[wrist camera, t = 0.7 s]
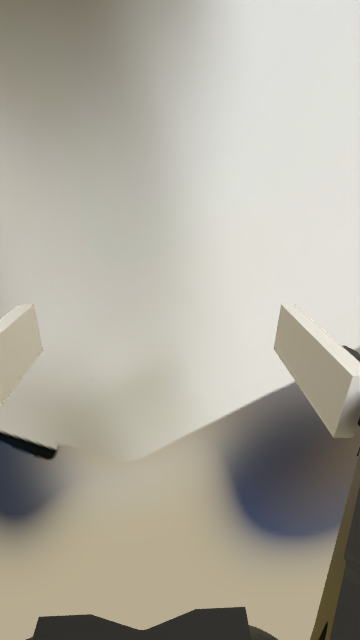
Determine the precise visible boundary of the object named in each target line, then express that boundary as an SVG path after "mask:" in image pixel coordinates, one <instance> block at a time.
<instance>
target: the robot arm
mask: <svg viewBox="0 0 360 640" xmlns="http://www.w3.org/2000/svg"><path fill="white" fill-rule="evenodd" d="M274 350H275V352H276V353H277V354H278V356H279V357H280V359H281V360H282V362H283V363H284V365H285V366H286V368H287V369H288V371H289V372H290V374H291V375H292V377H293V378H294V380H295V381H296V383H297V384H298V386H299V387H300V389H301V390H302V391H303V393H304V394H305V396H306V397H307V399H308V400H309V402H310V403H311V405H312V406H313V408H314V409H315V411H316V412H317V414H318V415H319V417H320V418H321V420H322V421H323V423H324V424H325V425H326V427H327V429H328V430H329V431H330V433H331V435H332V436H333V437H334V438H350V437H354V435H355V432H356V429H357V427H358V425H359V426H360V354H359V353H358V352H356V351H355V350H353V349H351V348H349V347H347V346H341V345H340V344H339V343H338V342H337V341H336V340H334V339H333V338H332V337H331V336H330V335H329V334H328V333H327V332H325V331H324V330H323V329H322V328H321V327H320V326H319V325H318V324H316V323H315V322H314V321H313V320H312V319H311V318H310V317H309V316H307V315H306V314H305V313H304V312H303V311H302V310H301V309H300V308H299V307H297V306H296V305H295V304H281V309H280V315H279V320H278V326H277V332H276V338H275V344H274ZM42 351H43V349H42V344H41V339H40V334H39V329H38V324H37V319H36V314H35V309H34V305H17V306H16V307H15V308H13V309H12V310H11V311H10V312H8V313H7V314H6V315H4V316H3V317H2V318H1V319H0V406H1V405H2V403H3V402H4V401H5V399H6V398H7V397H8V395H9V394H10V393H11V391H12V390H13V389H14V388H15V386H16V385H17V384H18V382H19V381H20V380H21V378H22V377H23V376H24V375H25V373H26V372H27V371H28V369H29V368H30V367H31V365H32V364H33V363H34V361H35V360H36V359H37V358H38V356H39V355H40V354H41V352H42ZM357 456H358V459H357V463H356V467H355V471H354V475H353V479H352V483H351V486H350V490H349V494H348V498H347V502H346V506H345V509H344V513H343V517H342V521H341V525H340V529H339V533H338V537H337V540H336V545H335V548H334V552H333V556H332V560H331V564H330V568H329V571H328V575H327V580H326V583H325V587H324V591H323V595H322V599H321V602H320V606H319V610H318V614H317V618H316V622H315V625H314V629H313V632H312V635H311V638H310V640H360V448H359V451H358V454H357ZM26 640H278V639H277V638H275V637H274V636H272V635H271V634H269V633H267V632H265V631H263V630H261V629H259V628H256V627H253V626H250V625H248V620H247V614H246V609H245V607H234V608H213V609H195V610H193V611H191V612H188V613H186V614H183V615H181V616H178V617H176V618H174V619H171V620H169V621H166V622H164V623H162V624H159V625H157V626H154V627H152V628H150V629H147V630H137V629H134V628H131V627H128V626H125V625H121V624H118V623H116V622H112V621H109V620H106V619H103V618H100V617H97V616H94V615H69V616H49V617H39V619H38V622H37V625H36V629H35V632H34V635H33V637H31V638H29V639H26Z"/></svg>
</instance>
